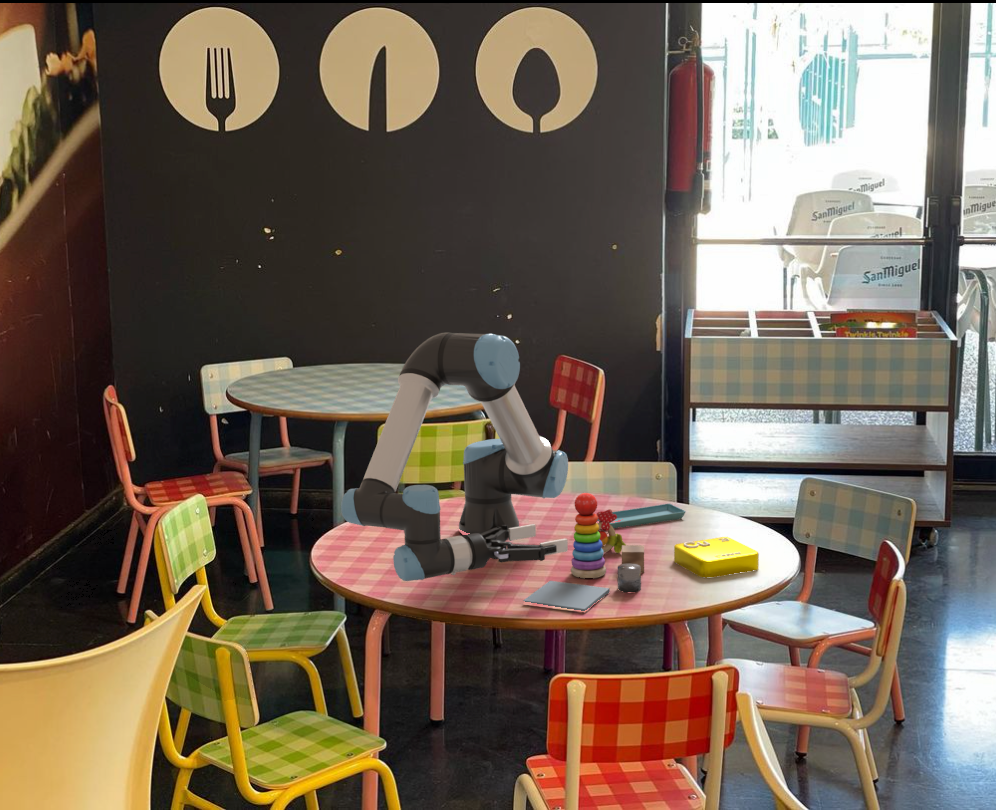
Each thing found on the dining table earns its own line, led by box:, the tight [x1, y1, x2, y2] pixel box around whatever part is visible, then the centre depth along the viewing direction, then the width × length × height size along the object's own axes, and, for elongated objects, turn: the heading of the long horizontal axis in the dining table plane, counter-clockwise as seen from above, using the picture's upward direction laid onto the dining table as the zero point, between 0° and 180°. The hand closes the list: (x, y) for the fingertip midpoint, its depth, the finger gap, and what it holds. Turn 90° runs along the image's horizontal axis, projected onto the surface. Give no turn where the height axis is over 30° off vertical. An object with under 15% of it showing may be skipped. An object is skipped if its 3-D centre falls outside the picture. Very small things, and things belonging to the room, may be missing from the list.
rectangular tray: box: [598, 503, 687, 529], centre depth 341 cm, size 26×9×2 cm, turn 111°
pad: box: [522, 580, 611, 611], centre depth 284 cm, size 14×14×1 cm
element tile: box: [673, 536, 760, 579], centre depth 304 cm, size 15×15×5 cm
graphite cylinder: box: [617, 563, 642, 593], centre depth 289 cm, size 5×5×5 cm
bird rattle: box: [595, 509, 627, 554], centre depth 314 cm, size 6×11×9 cm
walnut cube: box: [621, 544, 645, 574], centre depth 302 cm, size 5×5×5 cm
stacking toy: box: [570, 492, 607, 579], centre depth 298 cm, size 8×8×19 cm
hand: (550, 537), depth 293 cm, fingers open, 13 cm apart
